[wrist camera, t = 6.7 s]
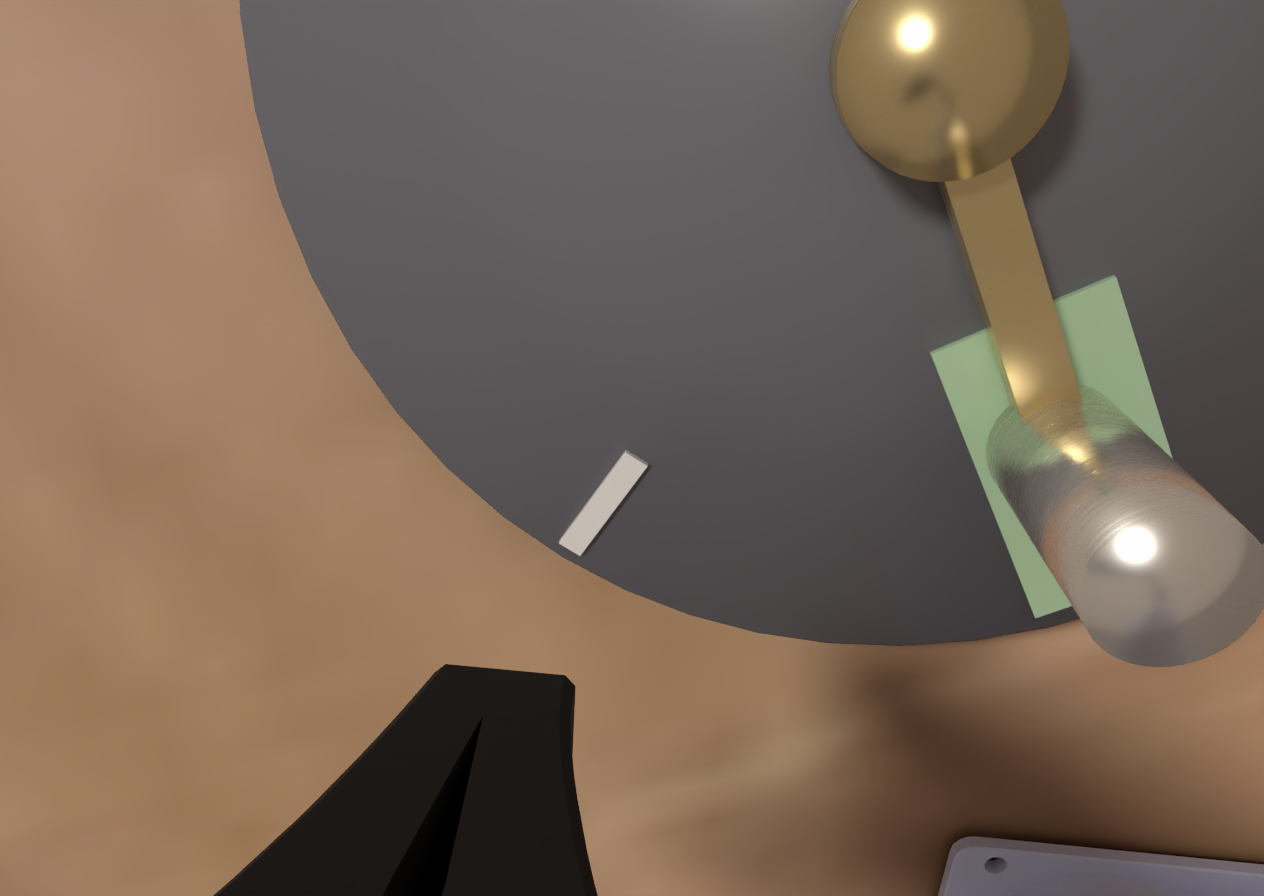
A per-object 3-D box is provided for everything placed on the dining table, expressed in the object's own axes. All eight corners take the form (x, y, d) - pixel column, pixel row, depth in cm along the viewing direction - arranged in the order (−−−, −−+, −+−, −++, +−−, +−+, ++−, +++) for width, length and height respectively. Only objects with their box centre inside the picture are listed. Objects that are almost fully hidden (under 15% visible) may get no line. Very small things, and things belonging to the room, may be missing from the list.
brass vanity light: (798, 6, 15) (838, 2, 10) (1008, -97, 14) (1147, -147, 10) (1005, 585, 18) (1099, 763, 14) (1179, 530, 18) (1334, 697, 13)
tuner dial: (2006, -873, 11) (2200, -1005, 10) (1337, 648, 21) (1387, 697, 19) (199, -925, 12) (130, -1054, 11) (323, 557, 21) (295, 598, 20)
